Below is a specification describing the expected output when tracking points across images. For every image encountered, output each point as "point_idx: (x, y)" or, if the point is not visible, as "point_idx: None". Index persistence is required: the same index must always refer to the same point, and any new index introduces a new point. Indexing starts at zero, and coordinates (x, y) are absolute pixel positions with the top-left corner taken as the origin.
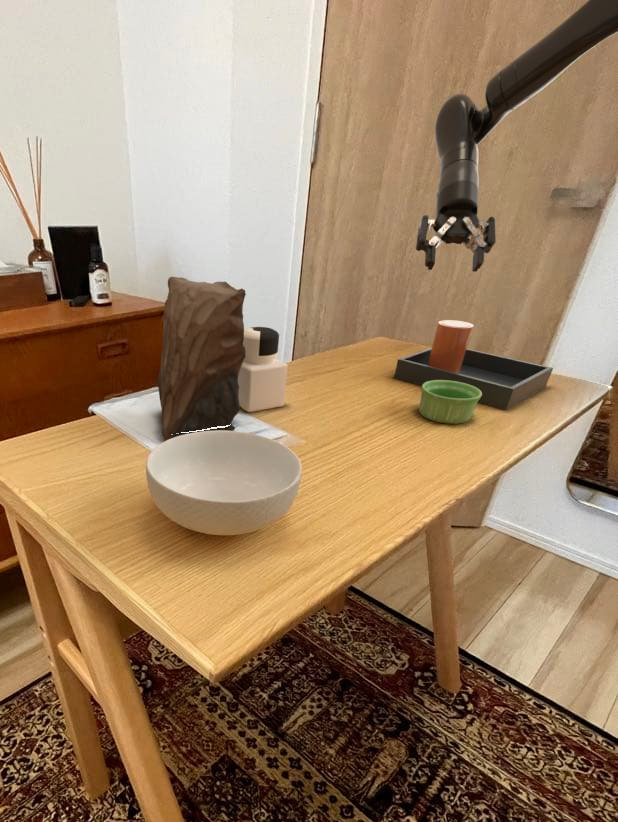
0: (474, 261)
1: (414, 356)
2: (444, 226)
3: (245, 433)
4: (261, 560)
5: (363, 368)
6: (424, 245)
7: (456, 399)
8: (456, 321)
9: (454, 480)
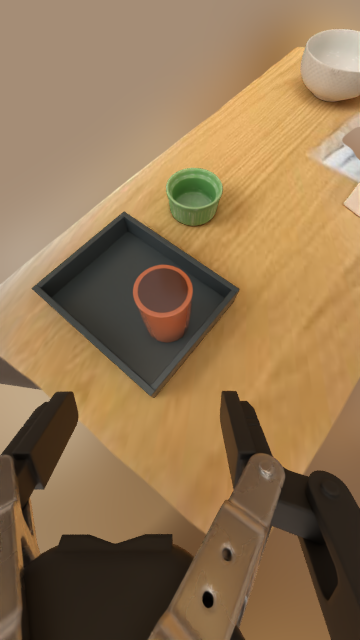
0: (61, 435)
1: (213, 311)
2: (224, 601)
3: (350, 71)
4: (300, 75)
5: (275, 333)
6: (296, 475)
7: (195, 168)
8: (157, 306)
9: (207, 129)
